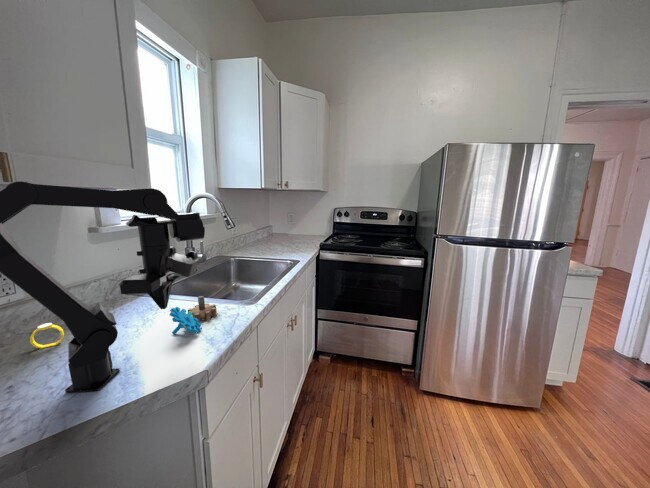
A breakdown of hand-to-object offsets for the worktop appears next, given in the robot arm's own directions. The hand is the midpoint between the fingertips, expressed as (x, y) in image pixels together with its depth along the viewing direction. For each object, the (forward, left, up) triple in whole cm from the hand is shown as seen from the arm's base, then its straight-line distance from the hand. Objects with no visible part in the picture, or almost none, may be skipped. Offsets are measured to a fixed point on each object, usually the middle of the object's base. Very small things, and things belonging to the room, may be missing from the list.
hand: (163, 308), depth 63 cm
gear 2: (+21, 0, -12) cm, 24 cm away
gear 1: (+11, +1, -12) cm, 17 cm away
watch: (+6, +34, -12) cm, 36 cm away
